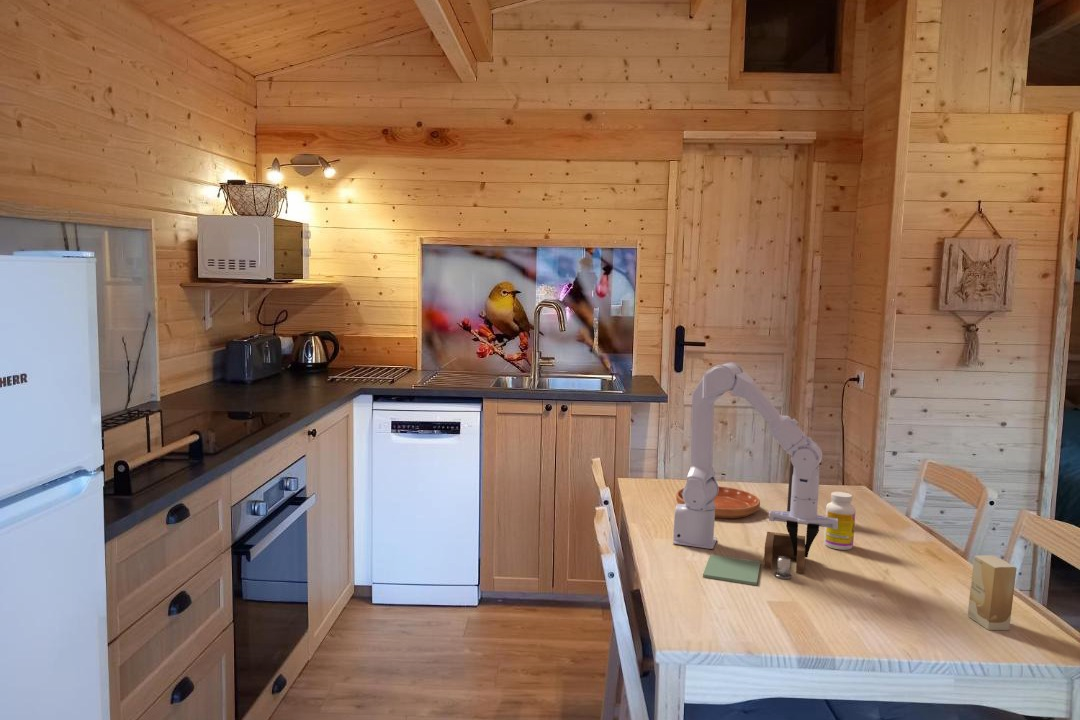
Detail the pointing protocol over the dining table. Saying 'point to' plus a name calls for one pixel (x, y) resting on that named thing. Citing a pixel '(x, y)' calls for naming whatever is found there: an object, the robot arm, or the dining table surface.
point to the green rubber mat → (732, 569)
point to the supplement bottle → (840, 522)
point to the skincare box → (991, 592)
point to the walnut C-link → (784, 549)
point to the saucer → (731, 503)
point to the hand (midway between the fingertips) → (800, 555)
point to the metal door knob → (783, 568)
